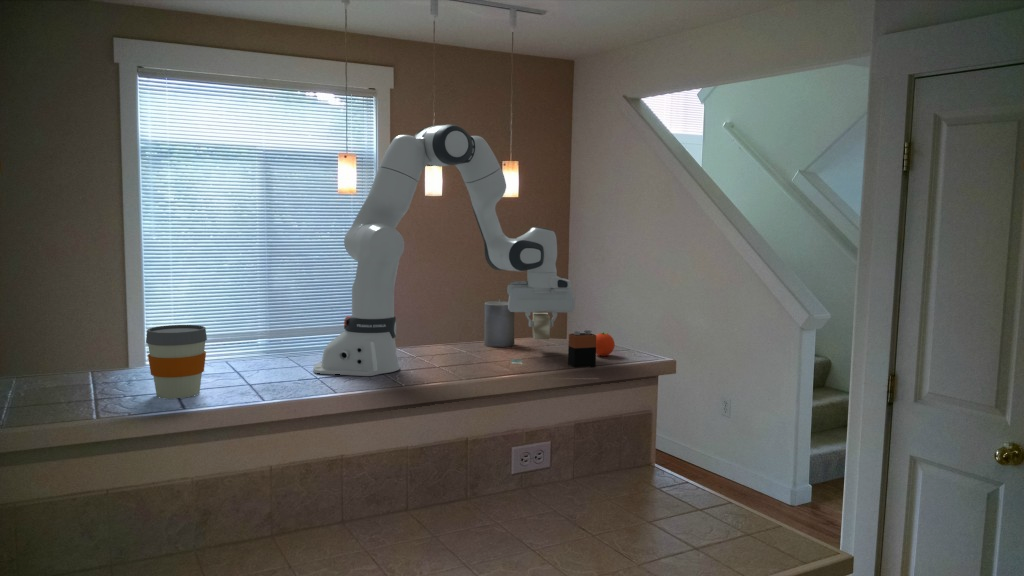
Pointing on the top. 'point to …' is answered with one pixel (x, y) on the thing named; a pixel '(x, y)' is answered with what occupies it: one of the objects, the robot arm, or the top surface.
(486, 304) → the pillar candle
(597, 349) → the clementine
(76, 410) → the top surface
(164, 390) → the reusable coffee cup
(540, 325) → the block
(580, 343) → the battery
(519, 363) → the board
